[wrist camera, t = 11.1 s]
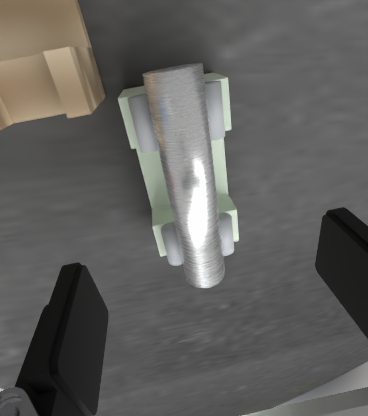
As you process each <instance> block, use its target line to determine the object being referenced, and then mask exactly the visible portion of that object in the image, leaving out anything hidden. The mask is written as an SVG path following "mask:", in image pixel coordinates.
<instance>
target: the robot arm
mask: <svg viewBox="0 0 368 416" xmlns="http://www.w3.org/2000/svg"><path fill="white" fill-rule="evenodd" d="M315 266H316V270H317V272H318V274H319V275H320V276H321V278H322V279H323V280H324V282H325V283H326V284H327V286H328V287H329V288H330V289H331V291H332V292H333V293H334V295H335V296H336V297H337V299H338V300H339V301H340V303H341V304H342V305H343V307H344V308H345V309H346V311H347V312H348V313H349V315H350V316H351V317H352V319H353V320H354V321H355V323H356V324H357V325H358V327H359V328H360V329H361V331H362V332H363V333H364V335H365V336H366V337H367V338H368V226H367V225H366V224H364V223H363V222H362V221H361V220H360V219H358V218H357V217H356V216H355V215H354V214H352V213H351V212H350V211H349V210H347V209H346V208H343V207H342V208H338V209H333V210H329V211H327V212H326V215H324V216H323V218H322V224H321V230H320V237H319V243H318V250H317V256H316V262H315ZM107 325H108V310H107V307H106V305H105V303H104V301H103V299H102V297H101V295H100V293H99V291H98V289H97V287H96V285H95V283H94V281H93V279H92V277H91V275H90V273H89V271H88V269H87V267H86V266H85V265H81V264H80V263H73V264H68V265H64V266H62V268H61V271H60V273H59V276H58V279H57V282H56V285H55V288H54V290H53V293H52V296H51V299H50V302H49V305H47V306H45V307H44V309H43V311H42V314H41V317H40V319H39V322H38V325H37V327H36V330H35V333H34V336H33V338H32V341H31V344H30V346H29V349H28V352H27V355H26V357H25V360H24V363H23V365H22V368H21V371H20V374H19V376H18V379H17V382H16V385H15V387H13V388H8V389H5V390H3V391H1V392H0V416H93V415H95V414H96V412H97V407H98V399H99V391H100V382H101V374H102V366H103V358H104V350H105V341H106V333H107ZM242 416H368V387H367V388H362V389H357V390H353V391H348V392H344V393H339V394H335V395H331V396H326V397H321V398H317V399H312V400H308V401H304V402H300V403H295V404H290V405H286V406H282V407H277V408H273V409H268V410H264V411H260V412H255V413H251V414H246V415H242Z"/></svg>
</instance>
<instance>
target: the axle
mask: <svg viewBox="0 0 368 416" xmlns="http://www.w3.org/2000/svg"><path fill="white" fill-rule="evenodd" d="M142 76H143V81H144V85H145V90H146V94H147V99H148V104H149V108H150V113H151V118H152V122H153V127H154V131H155V136H156V141H157V145H158V150H159V155H160V159H161V164H162V169H163V173H164V178H165V182H166V187H167V192H168V196H169V201H170V206H171V210H172V215H173V219H174V224H175V229H176V233H177V238H178V243H179V247H180V252H181V256H182V261H183V266H184V270H185V275H186V279H187V281H188V282H189V283H190V284H191V285H193V286H195V287H199V288H209V287H212V286H215V285H217V284H218V283H220V282H221V281H222V279H223V278H224V275H225V268H224V258H223V249H222V240H221V230H220V221H219V212H218V202H217V193H216V184H215V174H214V165H213V156H212V146H211V137H210V128H209V118H208V109H207V100H206V90H205V81H204V72H203V63H194V64H185V65H179V66H173V67H168V68H163V69H158V70H154V71H150V72H147V73H144V74H142Z"/></svg>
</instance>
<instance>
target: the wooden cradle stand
mask: <svg viewBox="0 0 368 416" xmlns="http://www.w3.org/2000/svg"><path fill="white" fill-rule="evenodd" d="M105 97H106V95H105V92H104V88H103V85H102V82H101V78H100V75H99V71H98V68H97V65H96V61H95V58H94V54H93V51H92V47H91V44H90V41H89V37H88V34H87V30H86V27H85V23H84V20H83V17H82V13H81V10H80V6H79V3H78V0H0V130H2V129H4V128H6V127H8V126H9V125H11V124H13V123H18V122H23V121H28V120H34V119H39V118H44V117H49V116H55V115H60V114H65V113H66V115H67V117H68V118H73V117H78V116H83V115H88V114H91V113H92V112H93V111H94V110H95V109H96V108H97V106H98V105H99V104H100V103H101V102H102V101H103V100H104V99H105Z"/></svg>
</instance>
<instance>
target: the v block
mask: <svg viewBox="0 0 368 416" xmlns="http://www.w3.org/2000/svg"><path fill="white" fill-rule="evenodd" d="M204 81H205V90H206V100H207V109H208V118H209V128H210V137H211V146H212V156H213V165H214V174H215V184H216V193H217V202H218V212H219V221H220V230H221V240H222V249H223V256H227V255H230V254H232V253H233V252H234V242H235V241H239V236H238V221H237V209H236V207H235V205H234V204H233V202H232V200H231V198H230V196H229V195H228V186H227V174H226V162H225V150H224V138H223V137H225V131H227V130H231V116H230V101H229V86H228V78H227V77H225V76H222V75H219V74H216V73H208V74H204ZM118 101H119V105H120V109H121V112H122V116H123V120H124V123H125V127H126V131H127V135H128V138H129V142H130V146H131V149H134V148H136V150H137V154H138V158H139V162H140V165H141V169H142V173H143V177H144V181H145V184H146V188H147V192H148V196H149V200H150V204H151V207H152V227H153V230H154V234H155V238H156V241H157V245H158V249H159V253H160V256H165V255H167V257H168V261H169V263H170V264H171V265H175V266H177V265H181V264H183V261H182V256H181V252H180V247H179V243H178V238H177V233H176V229H175V224H174V219H173V215H172V210H171V206H170V201H169V196H168V192H167V187H166V182H165V178H164V173H163V169H162V164H161V159H160V155H159V150H158V145H157V141H156V136H155V131H154V127H153V122H152V118H151V113H150V108H149V104H148V99H147V94H146V90H145V86H140V87H134V88H129V89H124V90H123V91H122V92H121V94H120V96H119V97H118Z"/></svg>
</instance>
